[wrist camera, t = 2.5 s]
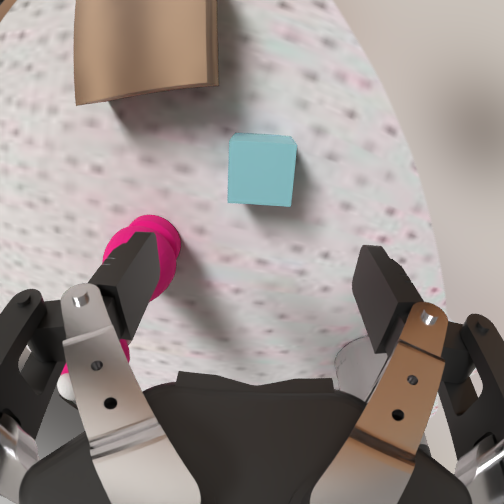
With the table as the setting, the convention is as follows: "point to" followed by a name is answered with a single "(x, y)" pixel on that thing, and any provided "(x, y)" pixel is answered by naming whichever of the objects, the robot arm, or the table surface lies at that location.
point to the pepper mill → (167, 258)
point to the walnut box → (143, 47)
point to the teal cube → (261, 169)
